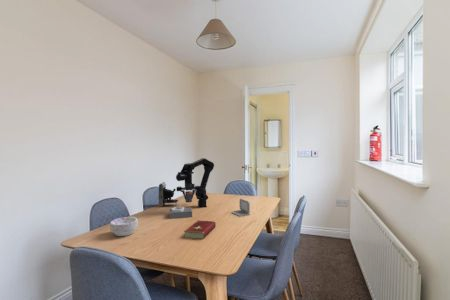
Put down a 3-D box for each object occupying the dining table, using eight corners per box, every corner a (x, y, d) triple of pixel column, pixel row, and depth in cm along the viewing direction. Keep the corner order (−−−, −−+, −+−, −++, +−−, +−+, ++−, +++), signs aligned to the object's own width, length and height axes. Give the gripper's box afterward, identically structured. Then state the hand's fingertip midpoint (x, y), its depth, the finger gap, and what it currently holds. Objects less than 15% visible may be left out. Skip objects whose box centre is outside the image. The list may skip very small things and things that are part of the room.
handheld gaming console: (230, 212, 191) (230, 199, 190) (241, 210, 195) (240, 198, 195) (239, 216, 179) (239, 202, 179) (250, 214, 183) (250, 201, 183)
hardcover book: (215, 227, 157) (215, 220, 157) (204, 239, 137) (203, 232, 137) (198, 226, 160) (198, 219, 160) (184, 238, 140) (183, 230, 140)
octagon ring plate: (190, 212, 192) (190, 205, 192) (192, 216, 180) (192, 209, 180) (169, 214, 189) (169, 206, 189) (169, 218, 177) (169, 210, 177)
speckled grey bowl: (123, 239, 138) (122, 225, 138) (104, 235, 145) (104, 222, 145) (143, 231, 151) (143, 218, 151) (125, 227, 158) (125, 215, 158)
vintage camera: (176, 207, 212) (176, 183, 212) (158, 206, 212) (158, 183, 212) (178, 204, 221) (179, 182, 221) (161, 204, 222) (161, 182, 222)
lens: (191, 200, 201) (191, 191, 201) (192, 202, 196) (192, 192, 196) (185, 201, 200) (185, 191, 200) (185, 202, 195) (185, 192, 195)
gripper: (176, 181, 188) (176, 202, 189) (201, 180, 192) (201, 200, 192) (176, 179, 199) (176, 199, 200) (199, 178, 203) (199, 197, 203)
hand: (188, 199), depth 198 cm, fingers closed on lens, 5 cm apart
